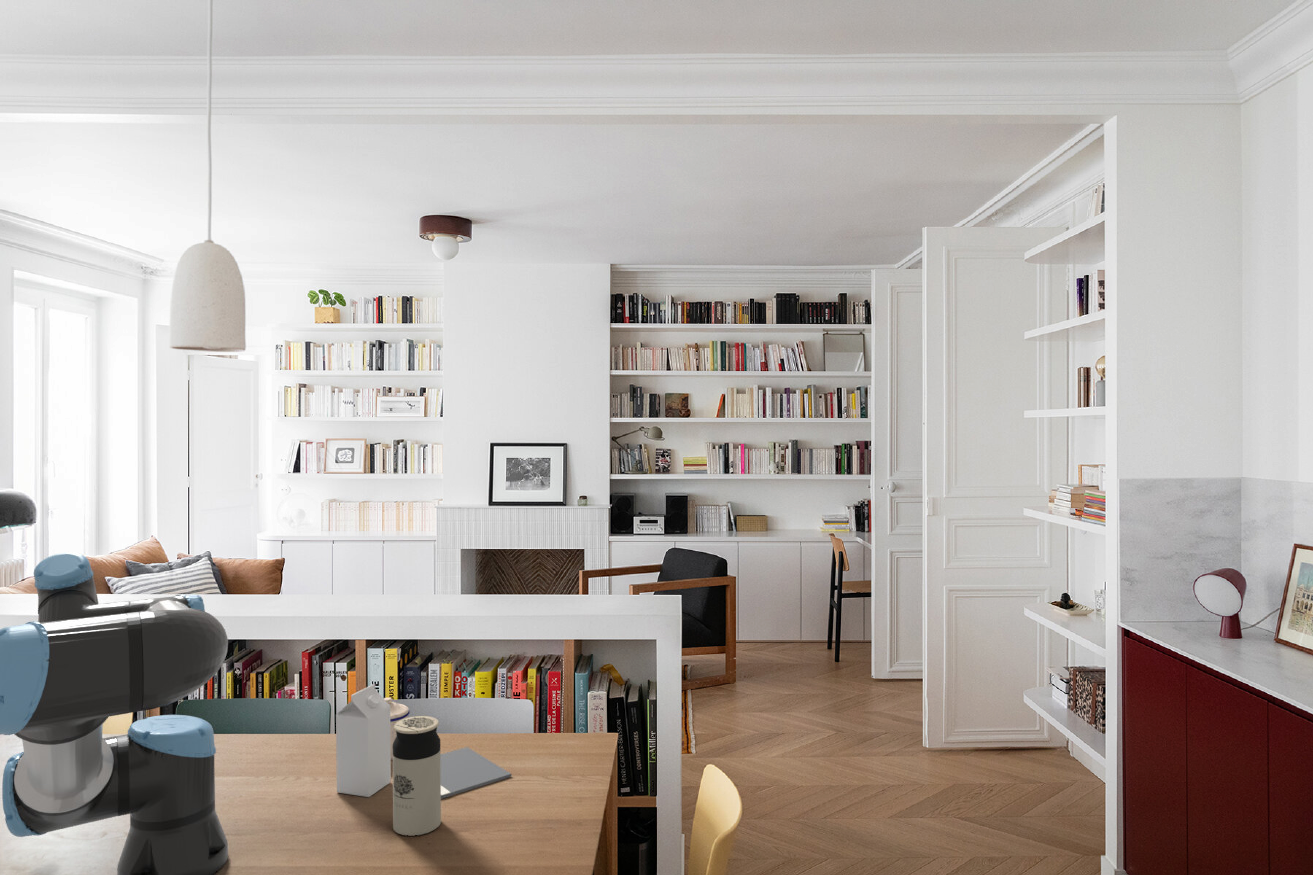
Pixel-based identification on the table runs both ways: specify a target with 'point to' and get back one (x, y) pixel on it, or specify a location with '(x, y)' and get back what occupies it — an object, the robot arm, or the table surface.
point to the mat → (467, 771)
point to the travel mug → (416, 776)
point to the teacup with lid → (395, 718)
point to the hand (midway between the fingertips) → (99, 723)
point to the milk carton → (363, 744)
